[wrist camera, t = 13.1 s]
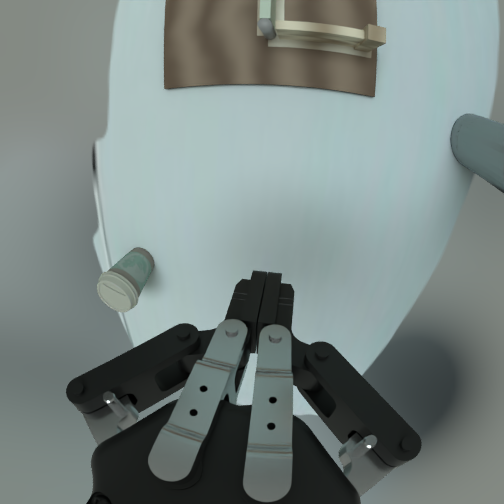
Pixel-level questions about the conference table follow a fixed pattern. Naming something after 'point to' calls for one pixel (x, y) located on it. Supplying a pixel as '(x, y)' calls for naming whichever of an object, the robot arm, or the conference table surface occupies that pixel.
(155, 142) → the conference table surface
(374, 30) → the fixed fence panel
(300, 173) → the conference table surface
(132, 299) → the coffee cup
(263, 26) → the hinged fence panel
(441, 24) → the conference table surface
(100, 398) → the robot arm
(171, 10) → the board
